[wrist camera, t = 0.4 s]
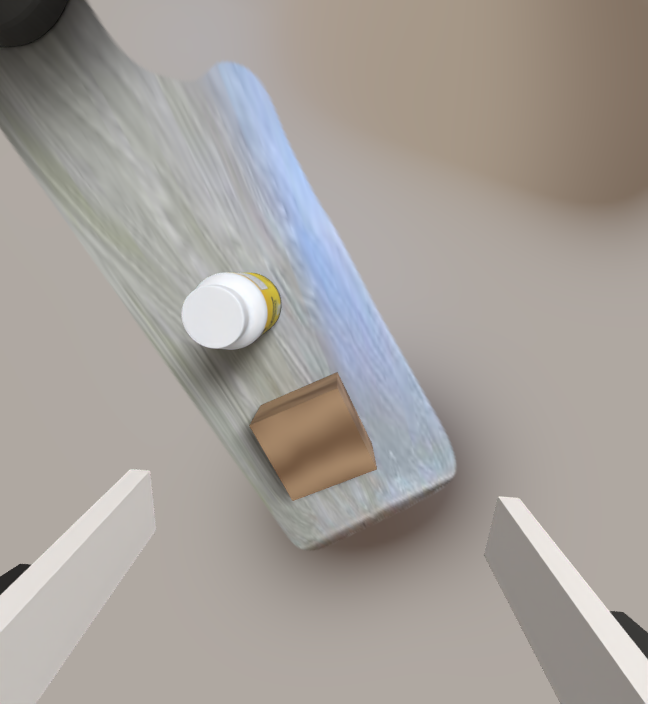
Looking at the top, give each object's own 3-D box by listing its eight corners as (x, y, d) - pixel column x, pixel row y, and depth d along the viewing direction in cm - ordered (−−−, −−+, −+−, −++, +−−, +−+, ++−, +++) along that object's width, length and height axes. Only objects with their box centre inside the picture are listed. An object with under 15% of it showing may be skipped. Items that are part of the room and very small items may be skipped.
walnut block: (260, 405, 37) (249, 425, 32) (337, 372, 35) (337, 388, 31) (298, 472, 39) (292, 501, 34) (371, 443, 38) (377, 469, 33)
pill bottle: (252, 343, 35) (211, 377, 24) (211, 298, 34) (149, 312, 23) (295, 306, 34) (274, 324, 23) (255, 259, 33) (212, 253, 21)
